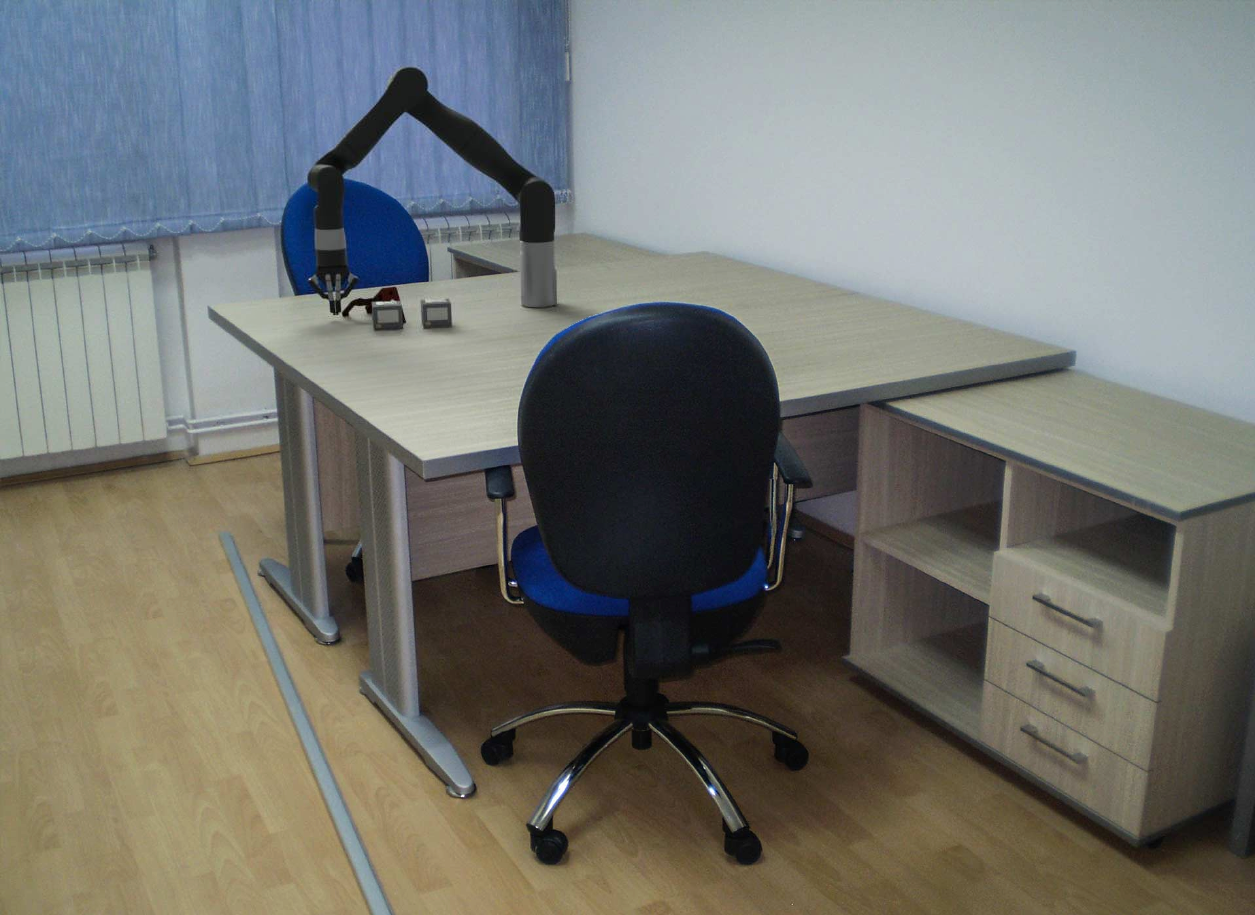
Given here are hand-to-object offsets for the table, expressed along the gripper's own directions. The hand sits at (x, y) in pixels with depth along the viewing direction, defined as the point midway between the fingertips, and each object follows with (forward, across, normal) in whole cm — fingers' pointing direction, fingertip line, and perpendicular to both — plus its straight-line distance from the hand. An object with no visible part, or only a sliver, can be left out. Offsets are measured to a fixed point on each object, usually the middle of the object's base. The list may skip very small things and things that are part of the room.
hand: (335, 314), depth 323 cm
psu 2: (+2, -24, +12) cm, 27 cm away
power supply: (+2, -12, +12) cm, 17 cm away
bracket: (+2, -9, +1) cm, 10 cm away
